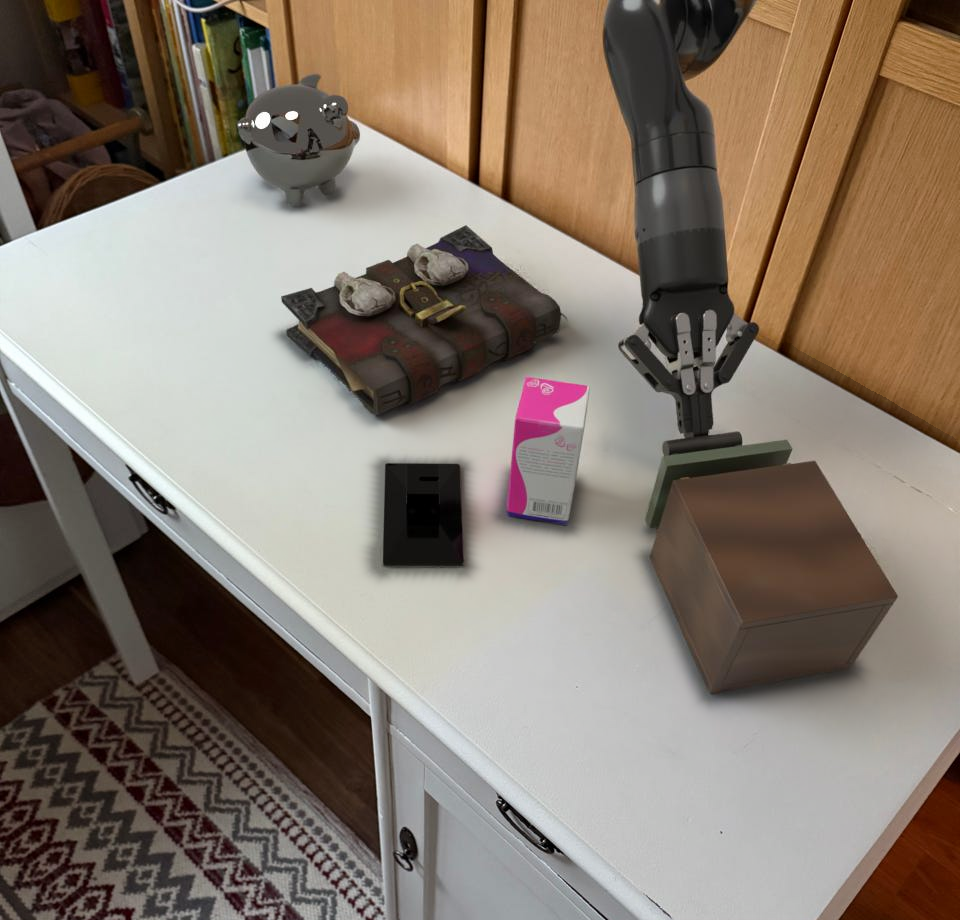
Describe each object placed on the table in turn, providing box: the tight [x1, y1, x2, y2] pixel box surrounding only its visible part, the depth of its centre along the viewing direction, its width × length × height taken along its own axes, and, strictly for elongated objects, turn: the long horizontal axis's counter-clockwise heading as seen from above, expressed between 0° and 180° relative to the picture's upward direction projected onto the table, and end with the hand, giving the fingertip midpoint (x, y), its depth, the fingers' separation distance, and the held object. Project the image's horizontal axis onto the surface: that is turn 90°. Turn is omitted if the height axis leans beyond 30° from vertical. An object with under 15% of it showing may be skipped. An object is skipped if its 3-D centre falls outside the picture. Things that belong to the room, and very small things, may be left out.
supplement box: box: [506, 376, 591, 526], centre depth 82 cm, size 6×6×12 cm
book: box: [280, 224, 568, 416], centre depth 97 cm, size 26×18×7 cm
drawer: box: [644, 430, 794, 530], centre depth 80 cm, size 18×11×8 cm, turn 13°
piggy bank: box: [235, 73, 361, 207], centre depth 111 cm, size 11×15×12 cm
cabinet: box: [649, 460, 899, 694], centre depth 77 cm, size 15×13×10 cm
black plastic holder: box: [379, 462, 465, 568], centre depth 83 cm, size 12×7×5 cm, turn 2°
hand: (696, 437), depth 85 cm, fingers closed
